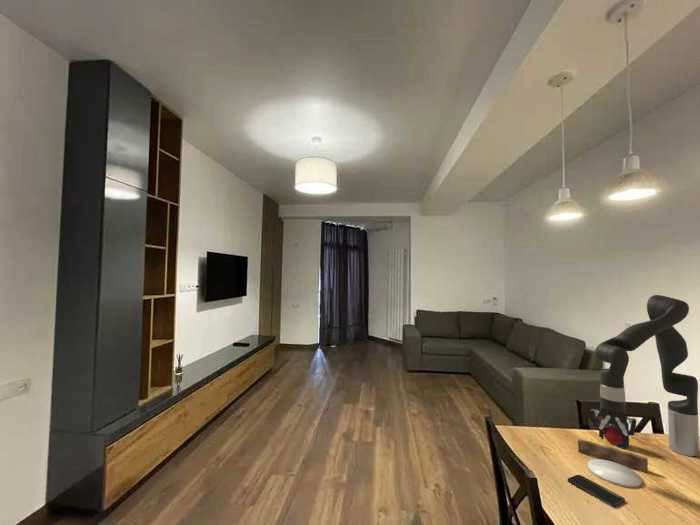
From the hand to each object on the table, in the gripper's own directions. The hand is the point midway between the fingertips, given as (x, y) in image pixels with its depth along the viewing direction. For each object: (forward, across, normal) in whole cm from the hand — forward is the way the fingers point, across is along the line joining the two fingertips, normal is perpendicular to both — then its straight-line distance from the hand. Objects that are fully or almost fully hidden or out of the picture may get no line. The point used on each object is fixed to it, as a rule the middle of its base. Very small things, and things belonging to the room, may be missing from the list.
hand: (613, 441), depth 123 cm
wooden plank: (+12, -1, +11) cm, 16 cm away
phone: (+13, -5, -18) cm, 22 cm away
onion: (+2, 0, 0) cm, 2 cm away
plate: (+12, 0, 0) cm, 12 cm away
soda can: (+12, +2, +30) cm, 32 cm away
